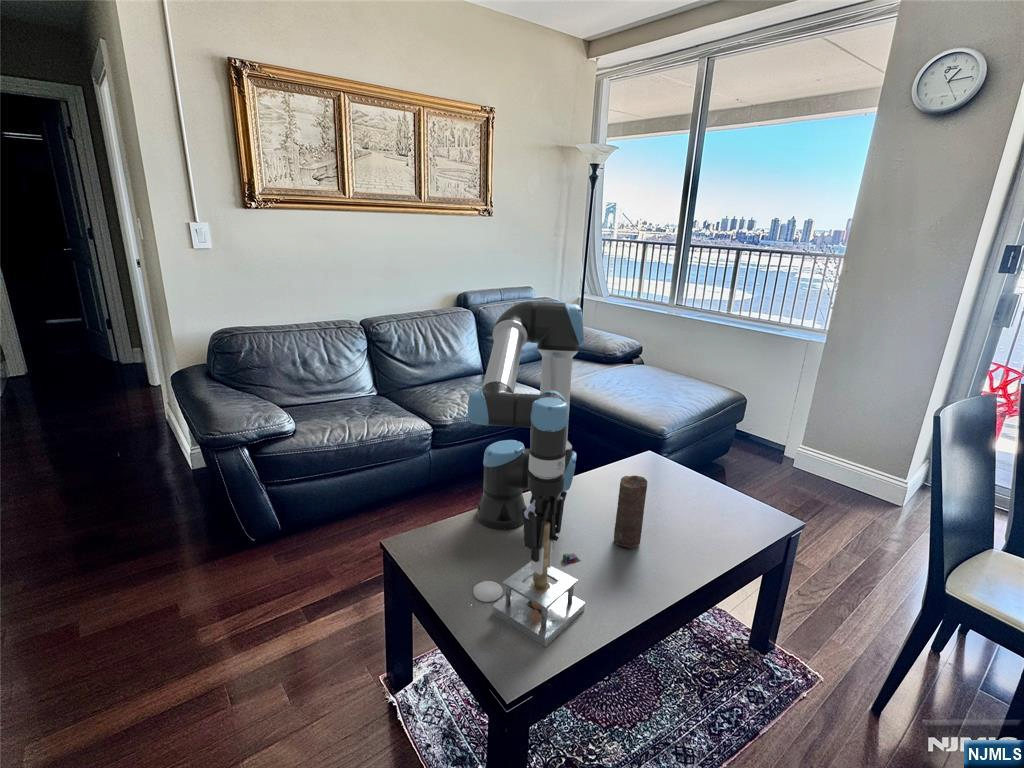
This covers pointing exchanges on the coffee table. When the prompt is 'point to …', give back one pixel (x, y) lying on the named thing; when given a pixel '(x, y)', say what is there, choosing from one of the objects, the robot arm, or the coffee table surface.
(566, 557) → the multicolour small angular block
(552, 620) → the grey square frame
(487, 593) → the coaster
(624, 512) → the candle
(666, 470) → the coffee table surface
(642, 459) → the coffee table surface
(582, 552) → the coffee table surface
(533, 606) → the breaker button
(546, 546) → the turned wooden spindle
